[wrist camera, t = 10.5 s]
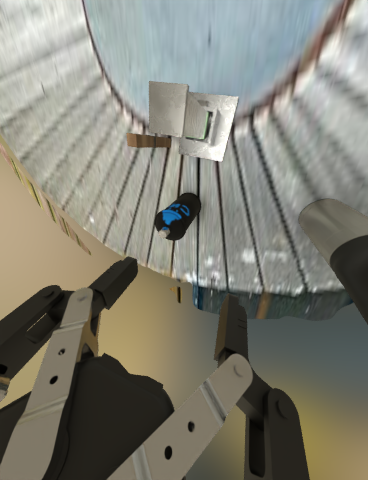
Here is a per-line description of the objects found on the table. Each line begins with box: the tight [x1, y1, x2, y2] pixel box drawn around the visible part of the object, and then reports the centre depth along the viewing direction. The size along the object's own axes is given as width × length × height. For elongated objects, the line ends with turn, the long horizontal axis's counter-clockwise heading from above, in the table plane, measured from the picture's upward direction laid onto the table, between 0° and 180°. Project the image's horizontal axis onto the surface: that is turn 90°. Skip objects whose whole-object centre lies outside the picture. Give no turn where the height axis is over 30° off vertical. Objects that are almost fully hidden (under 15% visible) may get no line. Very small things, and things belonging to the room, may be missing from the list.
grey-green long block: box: [149, 81, 210, 139], centre depth 23 cm, size 5×5×16 cm
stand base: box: [179, 92, 239, 162], centre depth 32 cm, size 12×12×7 cm
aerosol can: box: [155, 193, 201, 241], centre depth 39 cm, size 8×8×20 cm
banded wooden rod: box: [127, 133, 171, 148], centre depth 33 cm, size 2×2×16 cm
